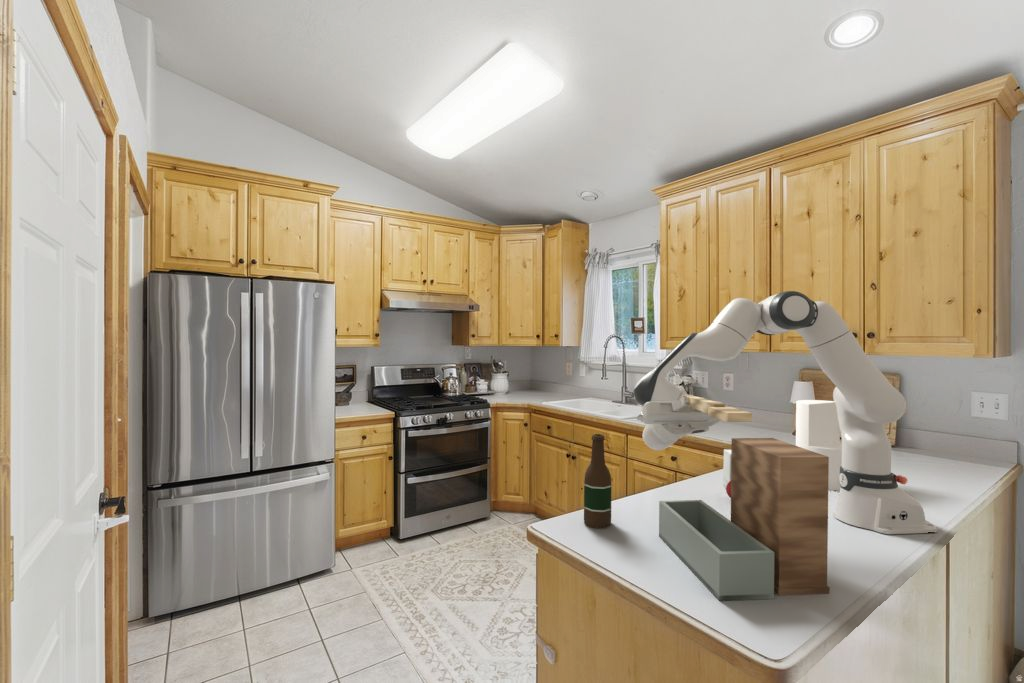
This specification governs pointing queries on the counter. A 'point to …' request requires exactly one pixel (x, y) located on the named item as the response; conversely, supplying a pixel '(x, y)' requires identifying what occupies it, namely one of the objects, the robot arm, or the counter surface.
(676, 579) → the counter surface
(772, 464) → the stand
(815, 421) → the white rectangular block
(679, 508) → the bin
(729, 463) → the supplement box
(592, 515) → the beer bottle
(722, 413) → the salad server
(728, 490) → the red round fruit
